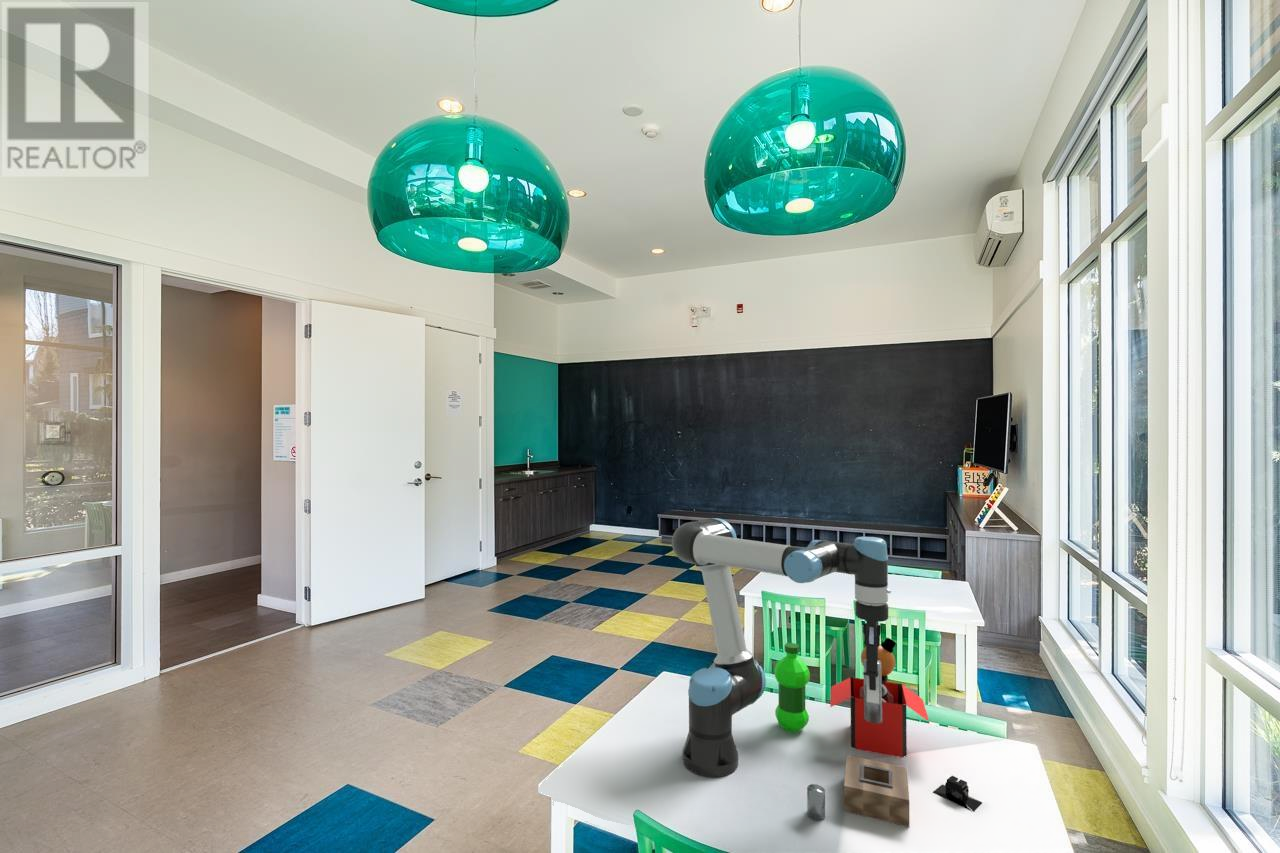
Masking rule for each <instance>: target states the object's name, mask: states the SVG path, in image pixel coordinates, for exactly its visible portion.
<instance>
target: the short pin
mask: <svg viewBox="0 0 1280 853" xmlns="http://www.w3.org/2000/svg"><path fill="white" fill-rule="evenodd" d="M806 797H807V798H806V800H807V801H806V802H807V803H806V804H807V806H806V814H807V817H808V818H809V819H811V820H813V821H816V822H821V821H824V820H825V818H826V789H825V788H824V787H823V786H822V785H819V784H815V783H812V784H809V785H807V787H806Z"/></svg>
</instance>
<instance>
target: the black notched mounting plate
mask: <svg viewBox="0 0 1280 853" xmlns="http://www.w3.org/2000/svg"><path fill="white" fill-rule="evenodd" d="M969 792H970V790H969V786H968V781H965V780H963V779H959V778H958V777H956V776H954V775H951V776H949V777H948V778H947V779H946V782H945V784H943V783H942V784H941V785H940V786H939V787H937V788H936V789H935V790H933V791H932V794H934V795H937V796H939V797H941V798H943V799H945V800H947V801H949V802H951V803H954V804H955V805H958V806H960V807H962V808H964V809H966V810H967V811H970V812H971V813H974V812H976V810H977V809H978V808H979V807H981V805H982V804H983V802H982V801H980V800H978V799H976V798H974V797H972V796H969Z"/></svg>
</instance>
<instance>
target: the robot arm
mask: <svg viewBox="0 0 1280 853" xmlns="http://www.w3.org/2000/svg"><path fill="white" fill-rule="evenodd" d="M671 538H672V539H671V547H672V550H673V553H674V554H675V556H676V557H677V558H678V559H679V560H681V561H682V562H684V563H687V564H688V563H689V564H693V565H695V568H696V569H698V570H699V571H700V572H701V573H702V579H703V584H704V589H705V594H706V599H707V605H708V610H709V616H710V620H711V625H712V630H713V635H714V641H715V646H716V652H717V655H716V657H715V658H714V659H713V662H714V666H711V667H710V666H709V667H708V668H707V667H703V668H700V669H698V670H696V671H695V672H694V673H692V675H691V676H690V679H689V686H688V692H687V693H688V694H687V695H688V733H687V737H686V739H685V743H684V745H683V748H682V763H683V766H684V767H685V768H686V769H687V770H689V771H691V772H692V773H694V774H696V775H699V776H702V777H708V778H710V777H711V778H717V777H718V778H719V777H724V776H727V775H730V774H732V773H734V772H735V771H736V770H737V769H738V767H739V752H738V749H737V746H736V742H735V739H734V737H733V732H732V730H733V719H732V718H733V715H735V714H737V713H738V712H740V711H742V710H743V709H745V708H747V707H748V706H750V705H753V704H754V703H755V702H757V701H758V699H760V698H761V697H762V695H763V694H764V692H765V689H766V684H767V679H766V675H765V674H766V673H765V671H764V669H763V667H762V666H761V665H759V662H758V661H757V660H755V658H754V653H752V652H751V651H750V650H748V649H747V644H746V640H745V635H744V634H745V633H744V630H743V625H742V620H741V615H740V611H739V605H738V600H737V595H736V590H735V586H734V585H735V584H734V580H733V576H732V570H731V567H732V568H736V569H744V570H749V571H754V572H755V571H756V572H760V573H766V574H771V575H777V576H782V577H787V578H788V579H790V580H791V581H793V582H794V583H797V584H807V583H812V582H814V581H815V580H817V579H820V578H822V577H825V576H827V575H830V574H833V573H841V574H846V575H854V599H855V600H856V601H855V603H854V607H855V610H854V611H855V613H854V614H855V616H856V617H857V618H858V619H860V620H864V621H865V622H863V625H862V626H863V627H862V633H863V636H864V638H863V640H864V641H863V642H864V643H863V644H864V645H865V647H866V670H867V671H866V672H864V671H863V676H864V675H866V685H867V702H871V703H877V704H879V675H878V660H879V658H878V647H879V646H880V644H881V640H880V639H881V632H882V629H881V626H882V625H881V624H879V622H881V623H882V622H885V621H887V620H888V619H889V604H888V601H889V594H891V593H892V591H891V589H889V586H888V585H889V583H888V579H889V578H888V575H889V574H888V571H889V567H888V564H889V562H888V561H889V556H888V548H887V547H888V546H887V545H888V544H887V541H886V540H884V539H883V538H882V537H875V536H858V537H855V538H854V542H853V543H845V542H838V541H830V540H828V539H827V540H826V539H822V540H820V539H814V540H811V541H810V542H809V544H808V545H807V546H806V547H803V546H802V547H800V546H795V545H794V546H792V545H787V544H780V543H775V542H774V543H772V542H764V541H759V540H752V539H742V538H738V537H737V533H736V530H735V529H734V527H733V526H732V525H731V524H730V523H729V522H728V521H726V520H725V519H722V518H716V517H715V518H713V517H712V518H707V519H701V520H696V521H690V522H685V523H682V525H680V526H678V527H677V528H676V529H675V531H674V533H673V534H672V537H671Z"/></svg>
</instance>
